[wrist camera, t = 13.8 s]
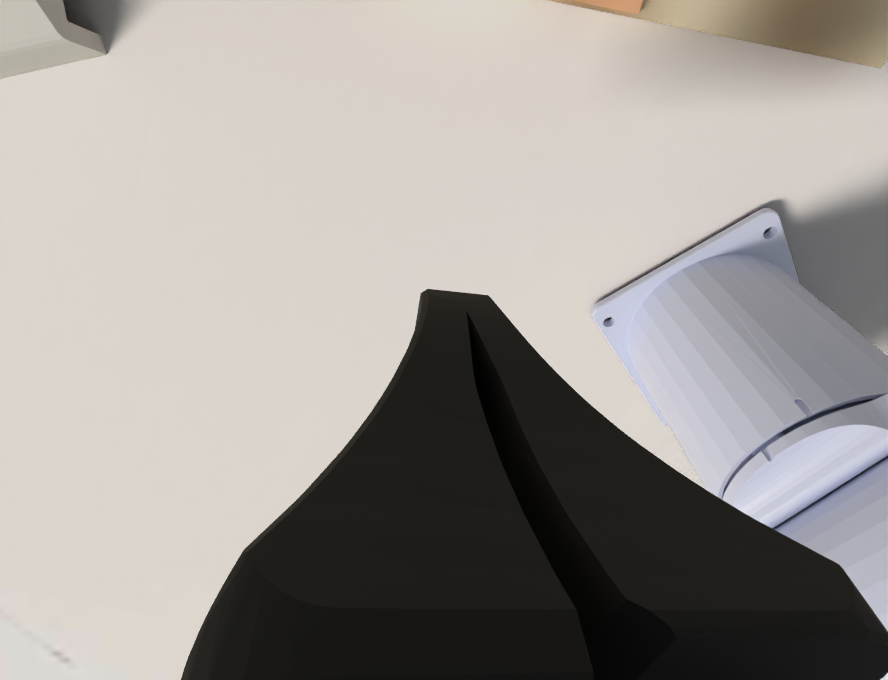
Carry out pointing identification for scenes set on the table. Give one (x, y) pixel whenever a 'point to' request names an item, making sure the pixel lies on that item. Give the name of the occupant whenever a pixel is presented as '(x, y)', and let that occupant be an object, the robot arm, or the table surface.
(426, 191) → the table surface
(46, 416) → the table surface
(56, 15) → the grey rounded block
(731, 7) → the rail
